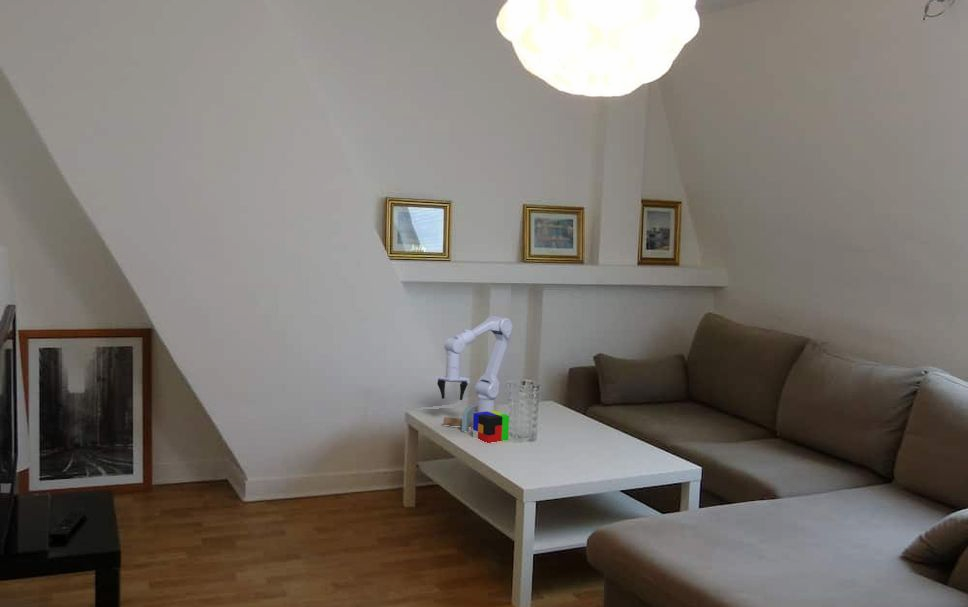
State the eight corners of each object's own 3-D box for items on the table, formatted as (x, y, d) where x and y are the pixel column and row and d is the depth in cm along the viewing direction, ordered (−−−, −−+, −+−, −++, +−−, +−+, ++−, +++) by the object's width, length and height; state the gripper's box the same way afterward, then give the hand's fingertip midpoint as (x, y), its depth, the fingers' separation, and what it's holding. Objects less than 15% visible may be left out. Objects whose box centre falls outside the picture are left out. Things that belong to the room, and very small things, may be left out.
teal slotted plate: (466, 432, 369) (467, 413, 368) (461, 432, 369) (462, 412, 368) (473, 424, 382) (473, 405, 381) (468, 423, 383) (469, 405, 382)
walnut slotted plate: (443, 426, 377) (443, 418, 376) (444, 425, 379) (444, 417, 378) (491, 430, 373) (491, 422, 373) (492, 429, 375) (492, 420, 375)
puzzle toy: (472, 438, 361) (473, 413, 360) (492, 434, 367) (493, 410, 366) (487, 444, 353) (488, 418, 352) (508, 440, 359) (509, 415, 358)
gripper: (433, 367, 377) (432, 399, 379) (468, 369, 374) (467, 402, 376) (437, 364, 384) (436, 396, 385) (471, 366, 381) (470, 398, 383)
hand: (452, 399), depth 381 cm, fingers open, 7 cm apart
